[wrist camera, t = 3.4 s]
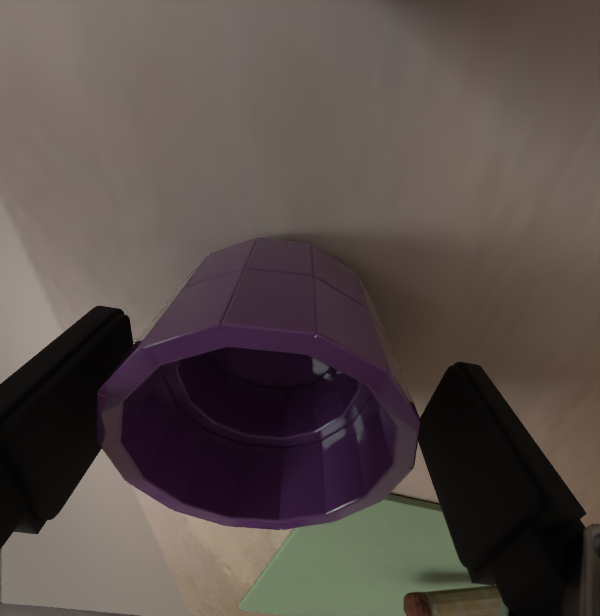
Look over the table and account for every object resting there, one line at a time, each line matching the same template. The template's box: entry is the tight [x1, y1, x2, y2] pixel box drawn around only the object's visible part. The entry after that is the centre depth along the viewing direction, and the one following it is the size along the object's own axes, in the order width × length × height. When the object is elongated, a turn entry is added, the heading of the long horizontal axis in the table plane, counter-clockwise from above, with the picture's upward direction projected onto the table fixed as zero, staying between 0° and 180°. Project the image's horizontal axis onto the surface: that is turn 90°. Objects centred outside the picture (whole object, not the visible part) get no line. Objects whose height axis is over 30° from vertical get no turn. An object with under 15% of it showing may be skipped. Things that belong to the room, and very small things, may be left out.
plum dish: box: [97, 238, 421, 530], centre depth 9 cm, size 7×7×5 cm
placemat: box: [239, 494, 492, 616], centre depth 22 cm, size 16×20×1 cm
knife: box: [403, 585, 501, 616], centre depth 20 cm, size 24×3×5 cm
